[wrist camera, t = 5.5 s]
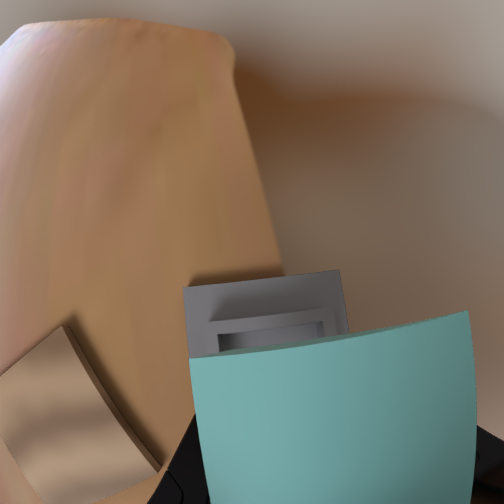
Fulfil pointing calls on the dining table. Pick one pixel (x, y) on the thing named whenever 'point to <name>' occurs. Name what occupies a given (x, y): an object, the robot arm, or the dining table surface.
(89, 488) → the board
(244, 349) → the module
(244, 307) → the case base
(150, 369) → the dining table surface
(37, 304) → the dining table surface
